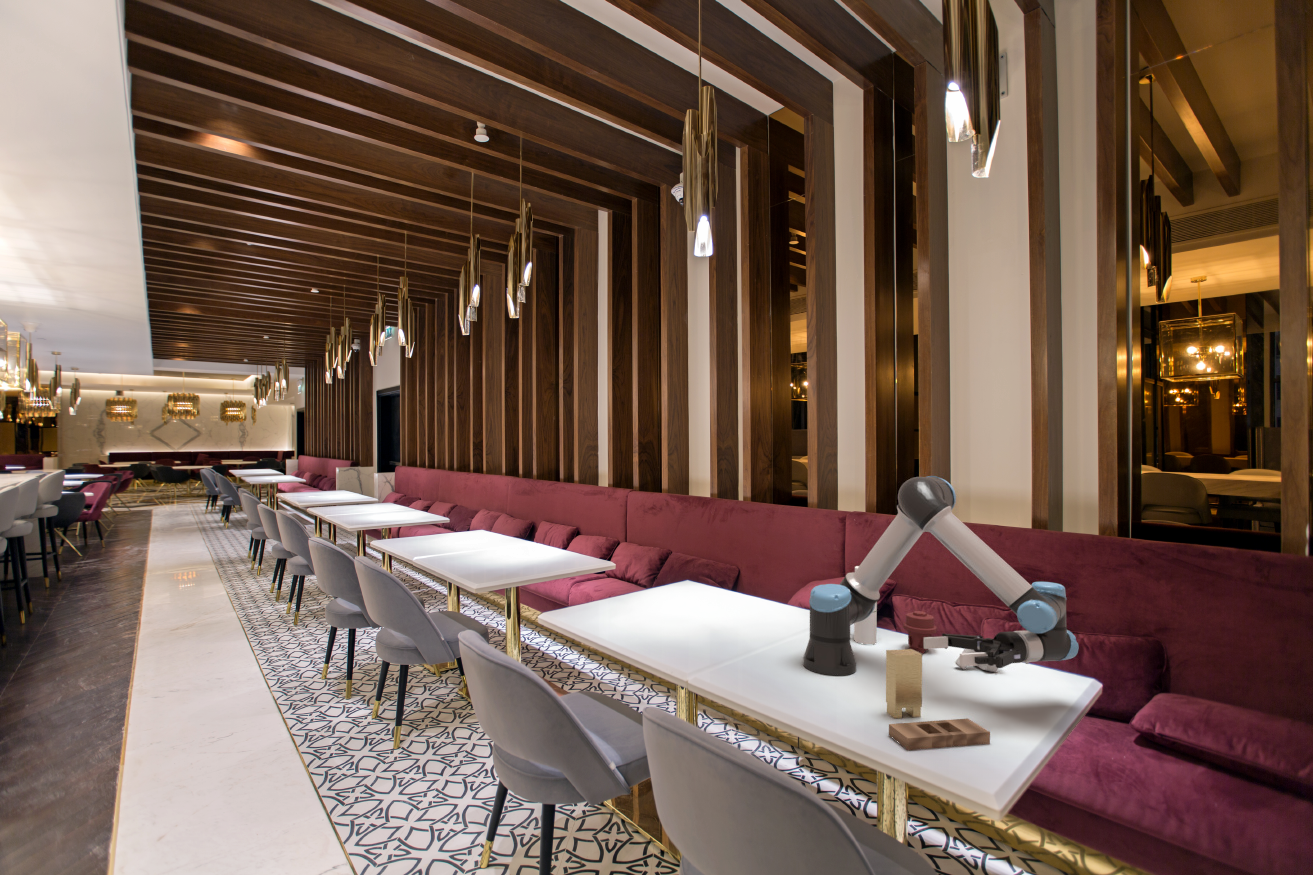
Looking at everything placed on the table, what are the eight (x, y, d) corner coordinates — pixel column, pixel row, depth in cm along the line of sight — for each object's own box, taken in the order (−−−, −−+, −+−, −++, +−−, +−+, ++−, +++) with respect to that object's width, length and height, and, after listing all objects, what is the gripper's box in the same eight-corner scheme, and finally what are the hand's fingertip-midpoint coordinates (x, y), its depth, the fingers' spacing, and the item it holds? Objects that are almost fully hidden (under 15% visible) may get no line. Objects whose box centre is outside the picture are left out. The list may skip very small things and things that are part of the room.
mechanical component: (932, 647, 201) (940, 656, 191) (900, 644, 203) (906, 653, 193) (932, 609, 201) (940, 617, 192) (900, 607, 203) (906, 614, 194)
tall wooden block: (895, 719, 143) (895, 655, 144) (885, 712, 147) (886, 650, 148) (921, 717, 145) (922, 654, 145) (911, 710, 149) (911, 648, 149)
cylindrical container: (876, 639, 208) (876, 566, 209) (876, 645, 201) (877, 570, 202) (854, 637, 210) (855, 565, 211) (854, 643, 203) (854, 568, 204)
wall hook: (947, 662, 184) (954, 630, 184) (978, 670, 184) (985, 638, 185) (962, 671, 176) (970, 638, 176) (995, 680, 176) (1003, 646, 177)
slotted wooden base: (907, 750, 128) (907, 738, 128) (888, 735, 135) (888, 723, 135) (989, 743, 132) (989, 731, 132) (967, 729, 139) (967, 718, 139)
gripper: (1058, 679, 140) (978, 684, 136) (981, 647, 164) (911, 651, 160) (1058, 646, 140) (978, 650, 136) (980, 619, 165) (910, 622, 161)
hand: (941, 651), depth 148 cm, fingers open, 13 cm apart
